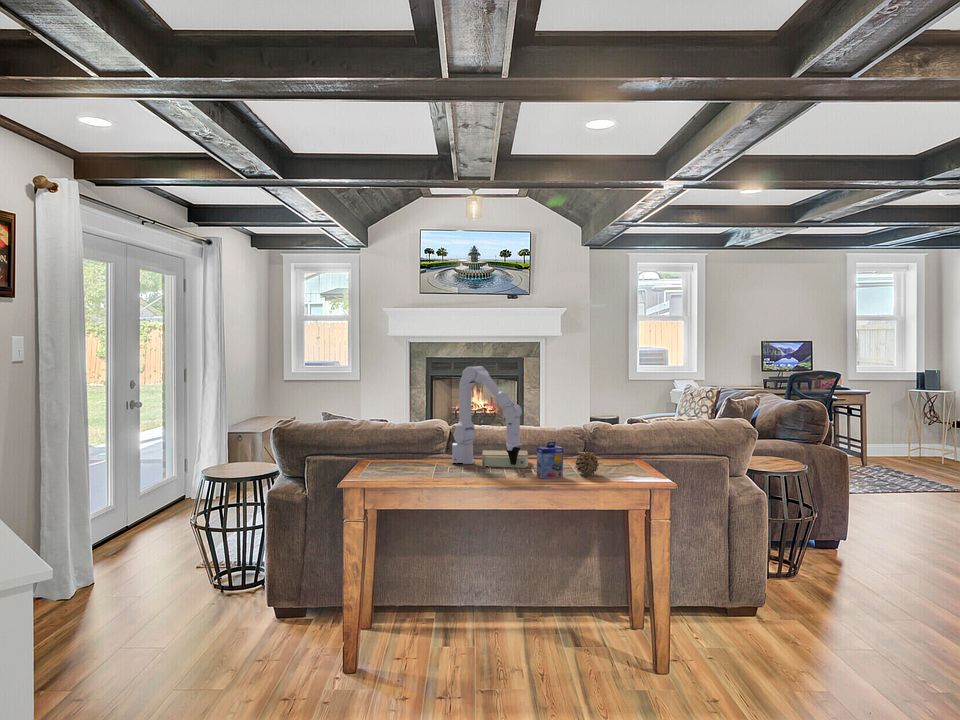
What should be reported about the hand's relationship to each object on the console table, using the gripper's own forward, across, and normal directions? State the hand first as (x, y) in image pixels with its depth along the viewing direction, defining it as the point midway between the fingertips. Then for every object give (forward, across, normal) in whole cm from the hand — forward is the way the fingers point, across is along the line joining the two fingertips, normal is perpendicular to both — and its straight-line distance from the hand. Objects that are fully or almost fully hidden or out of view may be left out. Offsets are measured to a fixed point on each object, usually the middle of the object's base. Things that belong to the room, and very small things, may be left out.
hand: (513, 464), depth 285 cm
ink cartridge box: (+2, -13, -18) cm, 23 cm away
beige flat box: (+2, +9, +6) cm, 11 cm away
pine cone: (+2, -3, -31) cm, 31 cm away
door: (+1, +1, +4) cm, 5 cm away
